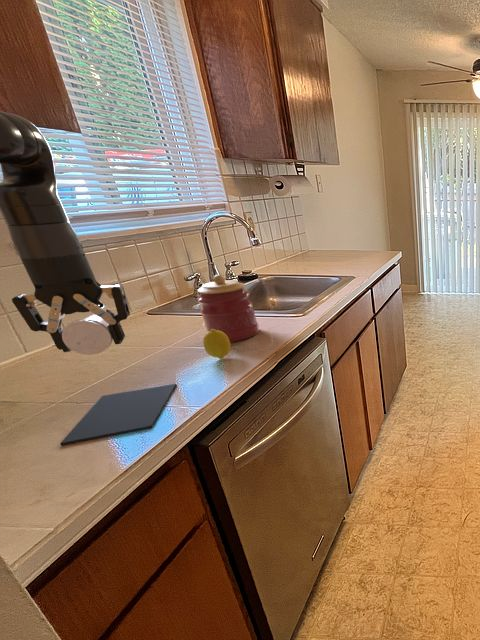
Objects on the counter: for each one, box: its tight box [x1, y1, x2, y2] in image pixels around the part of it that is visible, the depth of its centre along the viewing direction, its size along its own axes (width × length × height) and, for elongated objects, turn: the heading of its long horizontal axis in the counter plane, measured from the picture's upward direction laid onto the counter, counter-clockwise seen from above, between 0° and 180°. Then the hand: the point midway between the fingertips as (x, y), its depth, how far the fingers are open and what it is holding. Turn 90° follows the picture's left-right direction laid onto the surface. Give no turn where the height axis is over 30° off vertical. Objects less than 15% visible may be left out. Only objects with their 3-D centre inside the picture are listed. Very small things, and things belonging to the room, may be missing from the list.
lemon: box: [202, 329, 232, 360], centre depth 99 cm, size 6×6×8 cm
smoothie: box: [62, 313, 114, 356], centre depth 72 cm, size 6×6×14 cm
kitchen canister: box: [196, 274, 260, 343], centre depth 113 cm, size 13×13×18 cm
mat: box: [59, 383, 177, 446], centre depth 78 cm, size 13×18×1 cm
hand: (94, 346), depth 72 cm, fingers closed on smoothie, 6 cm apart
